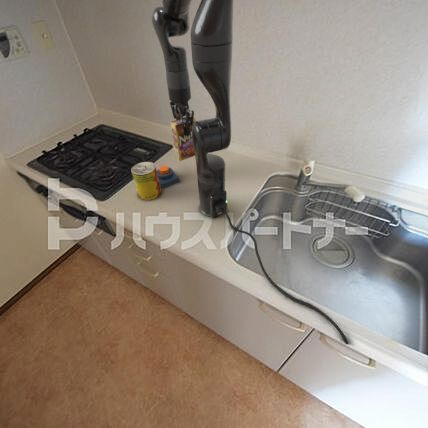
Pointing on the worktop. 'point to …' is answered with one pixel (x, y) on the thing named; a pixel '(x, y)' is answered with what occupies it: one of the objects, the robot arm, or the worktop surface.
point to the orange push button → (167, 178)
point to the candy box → (182, 140)
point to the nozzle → (164, 170)
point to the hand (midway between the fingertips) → (184, 132)
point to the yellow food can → (146, 180)
